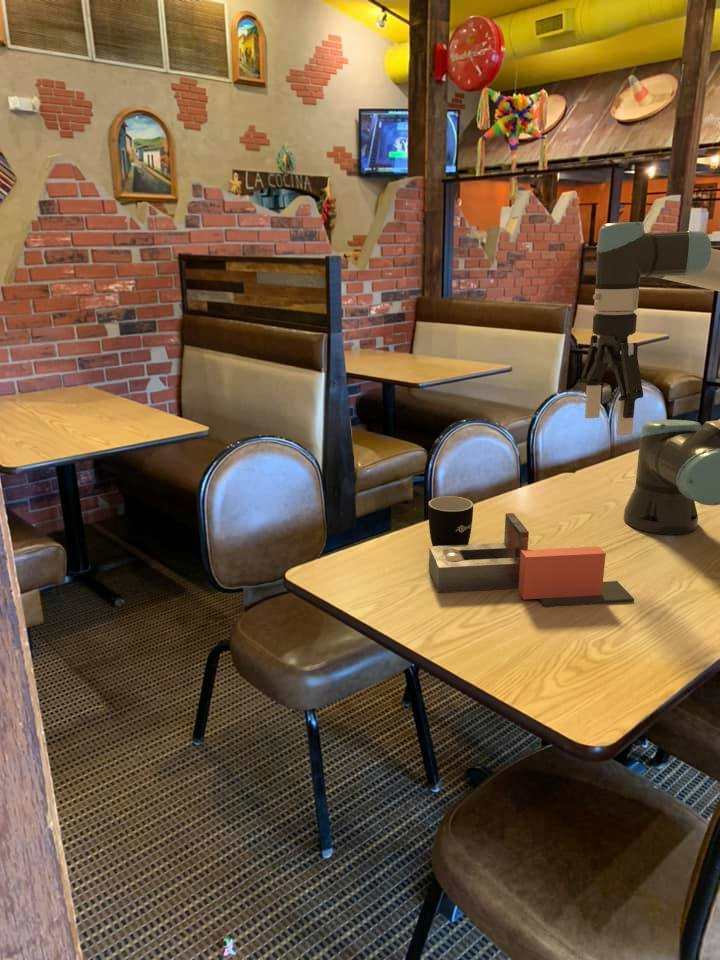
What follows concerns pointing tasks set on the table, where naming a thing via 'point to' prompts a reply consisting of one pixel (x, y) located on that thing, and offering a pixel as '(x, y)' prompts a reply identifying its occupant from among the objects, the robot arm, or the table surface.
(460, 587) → the frame
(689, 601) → the table surface
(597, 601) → the pad
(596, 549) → the orange block
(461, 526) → the mug
